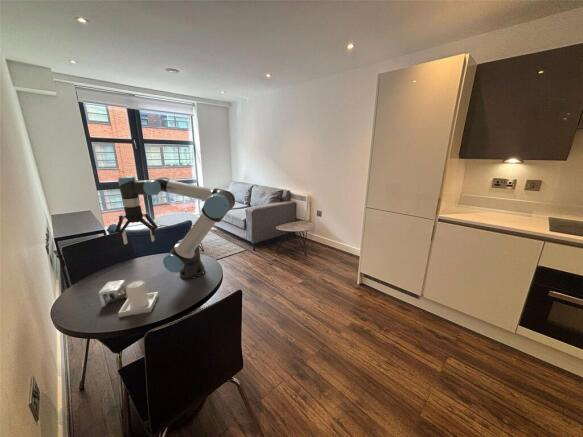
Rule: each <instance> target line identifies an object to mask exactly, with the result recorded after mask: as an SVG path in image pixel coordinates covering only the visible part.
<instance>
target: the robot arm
mask: <svg viewBox="0 0 583 437" xmlns="http://www.w3.org/2000/svg"><path fill="white" fill-rule="evenodd" d="M118 187H119V190H120V191H119V192H120V193H121V200H122V204H123V206H124V208H123V210H124V212H125V213H124V214H125V215H124V214H120V215H119V216H118V222H117V225H116V228H115V231H114V232H115V233H118V234H119V235H120V239H122V240H123V244H124V245H127V244H128V238H127V233H126V231H125V230H127V229H126V228H127V227H128V226H129V225H130V223H132V224H134V223H141V224H143V225H144V226H146V228H148V229H149V232H150V233H149V234H150V240H151V242H153V243H154V241H155V236H156V230H157V229H158V227H159V226H158V224H156V223H155V220H153V219H152V217H151V216H150V213H149V212H146V213H143V210H142V206H141V201H140V197H139V196H155V195H159V193H161V192H164V193H169V194H174V195H178V196H180V197H181V196H182V197H186V198H191V199H195V200H199V201H204V203H203V207H202V208H201V209H200V210H201V214H200V216H199V217H198V218H197V220H196V221H195V222H194V224H193V225H192V227H191V228H190V229H189V231H188V232H187V233H186V235H185V236H184V237H183V239H180V240H177V243H176V244H174V246H173V247H172V249H171V250H170V252H169V253H168V254H165V255H164V257H163V258H162V264H163V267H164V268H165V270H167V271H168V272H170V273H173V274H174V273H175V274H177V273H179V277H180V278H181V277H182V278H181V279H184V278H192V279H194V278H193V277H196V276H199V275H201V274H202V273H203V272H204V271H205V270H206V269H205V265H204V264H203V262H202V260H201V251H200V244H201V243H202V242H203V241H204V239H205V238H206V236H207V235H208V234H209V232H210V231H211V230H212V228H213V227H214V226H215V224H216V223H220V222H222V220H223V219H224V218H225V216H226V215H227V214H228V212H230V211H231V210H232V209H233V208H234V207H235V205H236V197H235V196H234V194H233V192H231V191H229V190H226V189H223V188H222V189H221V188H217V187H216V188H208V187H204V186H200V185H195V184H190V183H187V182H186V183H185V182H181V181H176V180H173V179H170V178H168V177H166V176H163V177H162V176H160V177H158V178H152V179H147V180H146V179H145V180H137V179H136V177H135V176H131V175H130V176H121V177H118ZM144 218H146V220H147V221H146V220H145V219H144ZM125 219H126V220H127V221H125V223H124V225H123V222H124V220H125ZM122 225H123V226H122ZM121 227H122V228H121ZM205 272H206V271H205ZM205 272H204V273H205ZM204 273H203V274H204ZM203 274H202V275H203ZM202 275H201V276H202ZM199 277H200V276H199ZM196 278H197V277H196Z"/></svg>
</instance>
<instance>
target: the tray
mask: <svg viewBox="0 0 583 437" xmlns="http://www.w3.org/2000/svg"><path fill="white" fill-rule="evenodd" d="M147 294H148V299H149V302H148V304H147V305H145V306H144V307H142V308H138V309H132V308H131V307H130V304H129V300H128V298H127V299H126V300H125V302H124V303H123V305H122V306H121V308H120V309H119V311H118V313H117V314H118V317H119V318H123V317H129V316H135V315H142V314H148V313H152V311H153V309H154V307H155V305H156V303H157V301H158V298H159V292H158V291H154V292H147Z"/></svg>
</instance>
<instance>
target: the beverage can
mask: <svg viewBox="0 0 583 437" xmlns="http://www.w3.org/2000/svg"><path fill="white" fill-rule="evenodd" d="M126 291H127V295H126V297H127V296H128V298H127V299H128V300H129V304H130V307H131V308H132V309H138V308H142V307H144V306H145V305H147V304H148V302H149V299H148V294H147V293H148V291H147V286H146V283H145V282H144V280H141V279H140V280H139V279H138V280H135V281H131V282H130V283H128V284H127V285H126Z"/></svg>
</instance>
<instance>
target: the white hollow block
mask: <svg viewBox="0 0 583 437" xmlns="http://www.w3.org/2000/svg"><path fill="white" fill-rule="evenodd" d="M124 284H126V280H125V279H122V280H114V281H113V280H112V281H107V283H106V284H104V286H103V287H102V288H101V289H100V290H99V291H98V296H99V299H100V303H101V306H102V307H103V308H104V307H107V305H108V304H109V303H110V301H111V300H112V301H114V302H120V301H122V300H124V299H125V297H127V294H126V288H127V286H126V287H125V286H124Z"/></svg>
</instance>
